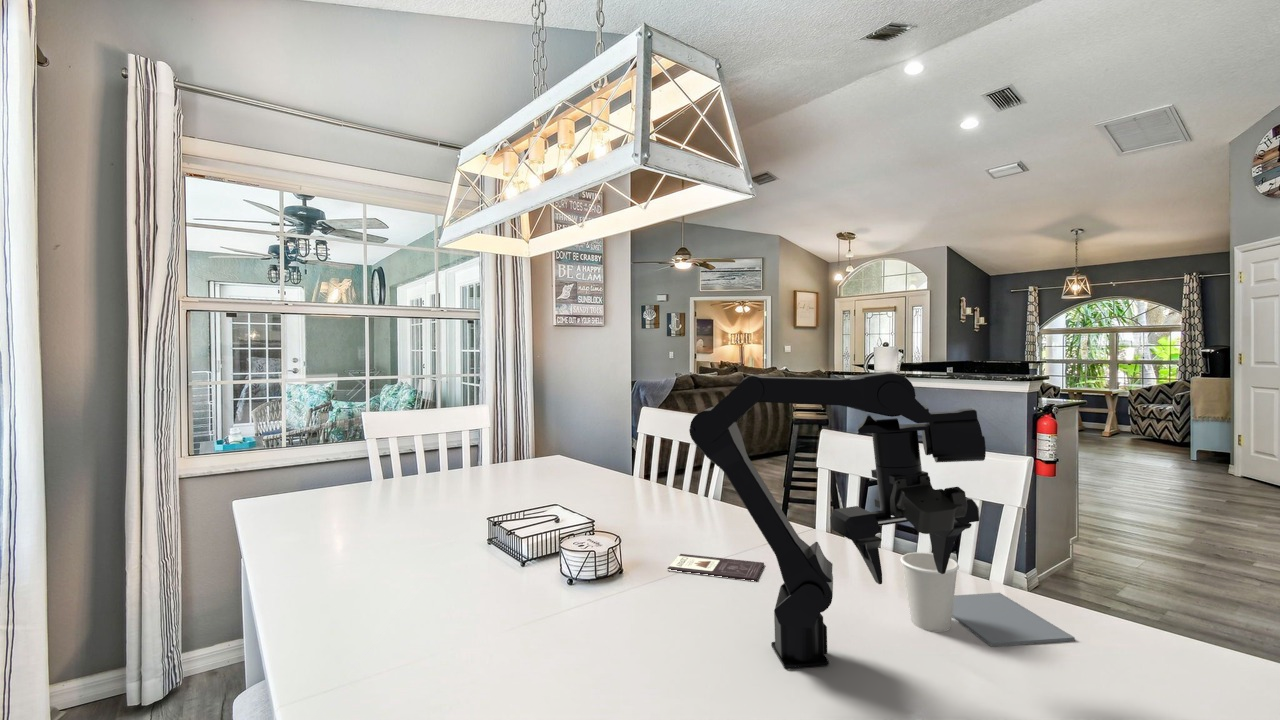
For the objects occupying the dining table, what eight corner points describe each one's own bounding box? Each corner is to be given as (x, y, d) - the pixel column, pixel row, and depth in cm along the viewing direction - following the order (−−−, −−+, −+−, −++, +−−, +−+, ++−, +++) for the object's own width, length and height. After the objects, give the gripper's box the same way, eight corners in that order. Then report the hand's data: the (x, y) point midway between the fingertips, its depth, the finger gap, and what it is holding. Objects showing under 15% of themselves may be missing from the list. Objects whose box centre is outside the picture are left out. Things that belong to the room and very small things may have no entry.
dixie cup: (971, 626, 91) (970, 563, 91) (940, 641, 86) (938, 575, 86) (921, 606, 98) (920, 548, 98) (890, 619, 94) (889, 558, 93)
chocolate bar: (756, 579, 110) (667, 568, 117) (756, 583, 110) (667, 573, 117) (763, 562, 119) (680, 553, 125) (764, 567, 119) (680, 558, 125)
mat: (991, 646, 85) (991, 643, 85) (928, 599, 100) (928, 597, 100) (1074, 640, 85) (1074, 637, 85) (999, 595, 101) (999, 592, 101)
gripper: (864, 483, 69) (878, 613, 69) (1004, 464, 72) (1018, 589, 72) (823, 468, 80) (835, 580, 80) (945, 452, 83) (957, 560, 83)
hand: (910, 578), depth 78 cm, fingers open, 9 cm apart
